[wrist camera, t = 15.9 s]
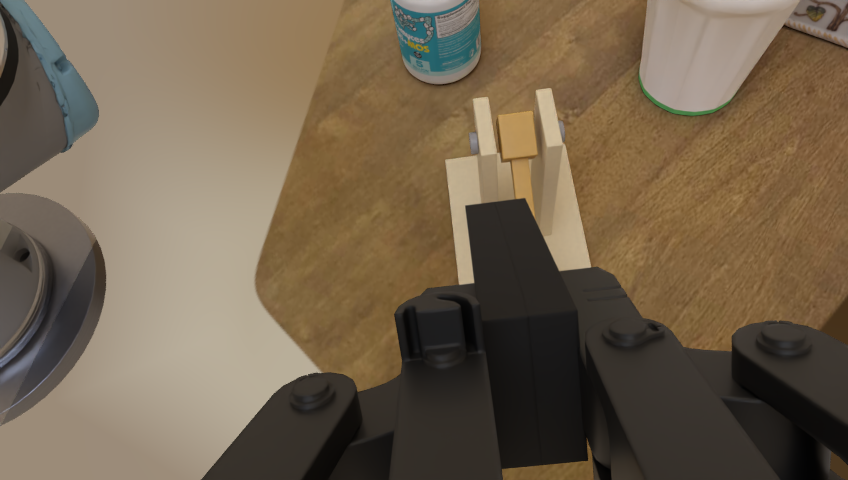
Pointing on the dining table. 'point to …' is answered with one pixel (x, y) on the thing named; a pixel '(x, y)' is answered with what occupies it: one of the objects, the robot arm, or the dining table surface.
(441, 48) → the pill bottle
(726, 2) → the cup
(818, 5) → the decorative jar
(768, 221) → the dining table surface
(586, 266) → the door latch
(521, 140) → the latch lever
